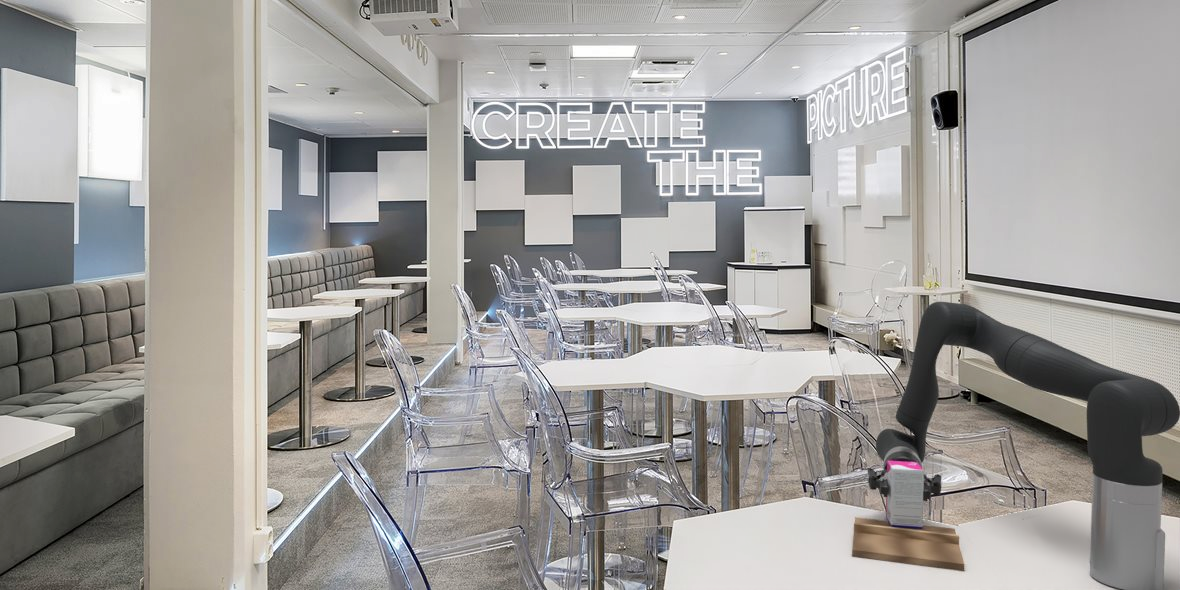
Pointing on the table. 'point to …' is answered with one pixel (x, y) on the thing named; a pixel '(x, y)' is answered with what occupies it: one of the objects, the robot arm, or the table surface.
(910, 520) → the supplement box
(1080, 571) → the table surface
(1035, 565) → the table surface
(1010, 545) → the table surface
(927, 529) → the tan wooden board
